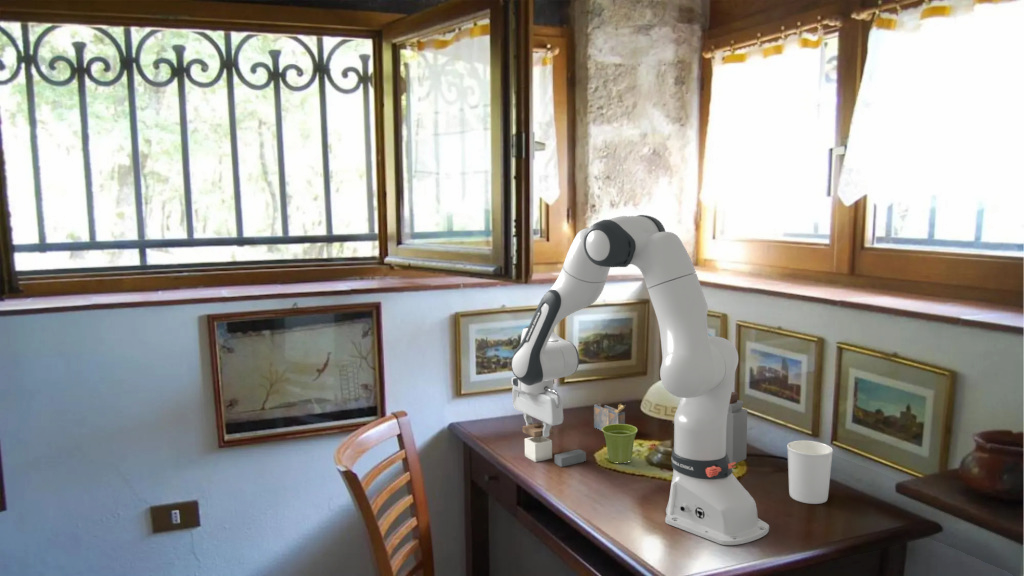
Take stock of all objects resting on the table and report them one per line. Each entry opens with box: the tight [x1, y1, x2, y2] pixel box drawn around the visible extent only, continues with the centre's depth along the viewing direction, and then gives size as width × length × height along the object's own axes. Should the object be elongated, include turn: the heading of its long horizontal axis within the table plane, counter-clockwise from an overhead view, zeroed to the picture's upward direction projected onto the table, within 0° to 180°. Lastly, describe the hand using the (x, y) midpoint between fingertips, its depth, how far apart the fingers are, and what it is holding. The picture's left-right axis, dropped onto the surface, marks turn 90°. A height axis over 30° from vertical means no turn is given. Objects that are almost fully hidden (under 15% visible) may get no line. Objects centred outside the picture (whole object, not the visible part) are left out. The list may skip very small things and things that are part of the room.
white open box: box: [524, 436, 553, 463], centre depth 198 cm, size 5×5×5 cm
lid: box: [522, 422, 554, 438], centre depth 197 cm, size 6×6×3 cm
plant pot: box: [602, 423, 638, 464], centre depth 194 cm, size 9×9×9 cm
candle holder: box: [786, 439, 834, 505], centre depth 168 cm, size 10×10×12 cm
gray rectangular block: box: [554, 448, 587, 468], centre depth 194 cm, size 3×8×2 cm, turn 121°
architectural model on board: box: [593, 403, 626, 432], centre depth 219 cm, size 11×3×10 cm, turn 32°
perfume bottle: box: [726, 391, 748, 464], centre depth 194 cm, size 7×7×18 cm
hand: (537, 432), depth 197 cm, fingers closed on lid, 6 cm apart
